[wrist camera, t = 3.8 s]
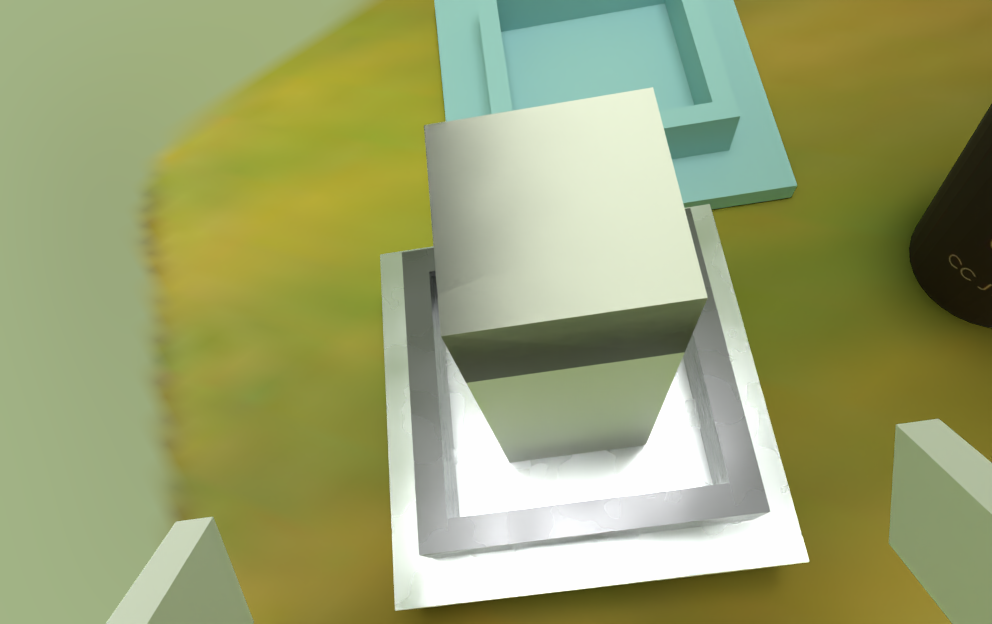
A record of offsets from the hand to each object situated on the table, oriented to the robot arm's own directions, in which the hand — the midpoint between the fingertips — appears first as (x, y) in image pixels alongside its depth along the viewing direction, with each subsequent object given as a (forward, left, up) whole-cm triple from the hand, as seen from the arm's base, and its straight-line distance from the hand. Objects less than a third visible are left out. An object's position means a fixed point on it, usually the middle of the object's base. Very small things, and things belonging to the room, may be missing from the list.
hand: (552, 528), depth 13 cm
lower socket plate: (-5, -23, -15) cm, 28 cm away
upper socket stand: (-1, -6, -15) cm, 16 cm away
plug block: (-1, -6, -11) cm, 13 cm away
